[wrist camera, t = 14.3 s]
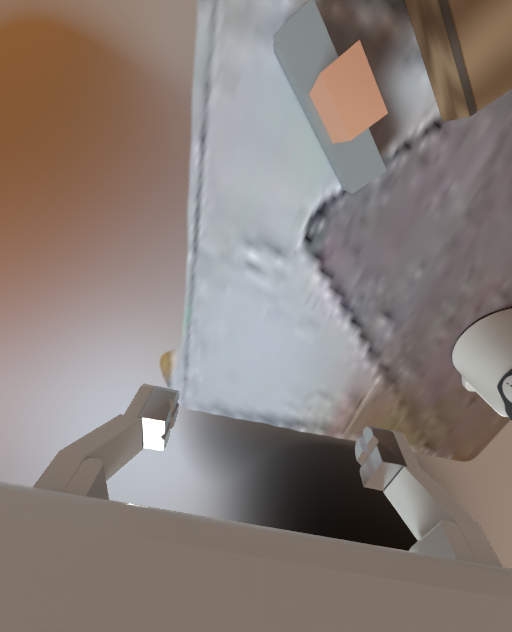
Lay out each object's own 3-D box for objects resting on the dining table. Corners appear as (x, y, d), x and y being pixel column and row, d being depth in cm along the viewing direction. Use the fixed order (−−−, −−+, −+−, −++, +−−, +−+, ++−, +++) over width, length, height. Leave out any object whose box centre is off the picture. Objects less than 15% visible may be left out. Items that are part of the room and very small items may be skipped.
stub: (373, 169, 34) (420, 176, 23) (343, 189, 35) (373, 205, 24) (307, 20, 28) (327, -69, 17) (274, 52, 29) (272, -11, 18)
